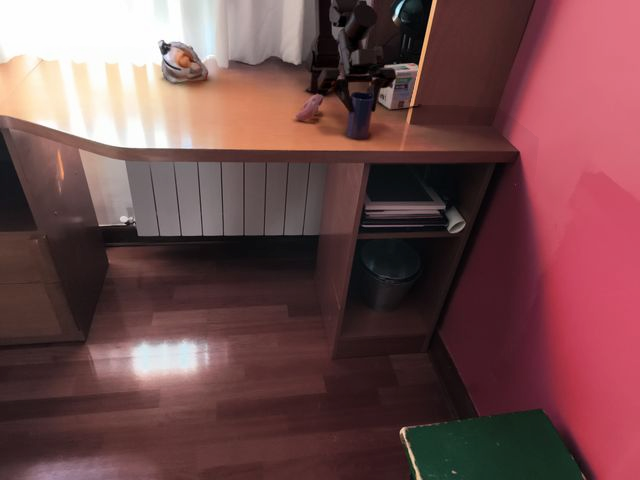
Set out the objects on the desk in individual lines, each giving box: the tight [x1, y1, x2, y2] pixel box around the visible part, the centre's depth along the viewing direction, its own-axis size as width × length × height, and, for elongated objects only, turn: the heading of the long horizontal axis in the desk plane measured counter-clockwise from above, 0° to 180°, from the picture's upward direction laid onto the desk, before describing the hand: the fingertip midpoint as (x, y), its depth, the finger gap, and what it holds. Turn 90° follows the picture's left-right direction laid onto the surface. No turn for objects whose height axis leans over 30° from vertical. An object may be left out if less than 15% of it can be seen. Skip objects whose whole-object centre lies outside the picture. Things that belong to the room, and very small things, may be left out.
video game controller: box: [295, 93, 325, 122], centre depth 121 cm, size 10×5×7 cm, turn 168°
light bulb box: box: [377, 62, 419, 110], centre depth 132 cm, size 11×7×11 cm, turn 117°
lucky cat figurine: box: [157, 39, 209, 84], centre depth 133 cm, size 15×12×14 cm
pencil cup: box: [345, 91, 374, 140], centre depth 112 cm, size 6×6×10 cm
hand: (362, 111), depth 110 cm, fingers closed on pencil cup, 5 cm apart
